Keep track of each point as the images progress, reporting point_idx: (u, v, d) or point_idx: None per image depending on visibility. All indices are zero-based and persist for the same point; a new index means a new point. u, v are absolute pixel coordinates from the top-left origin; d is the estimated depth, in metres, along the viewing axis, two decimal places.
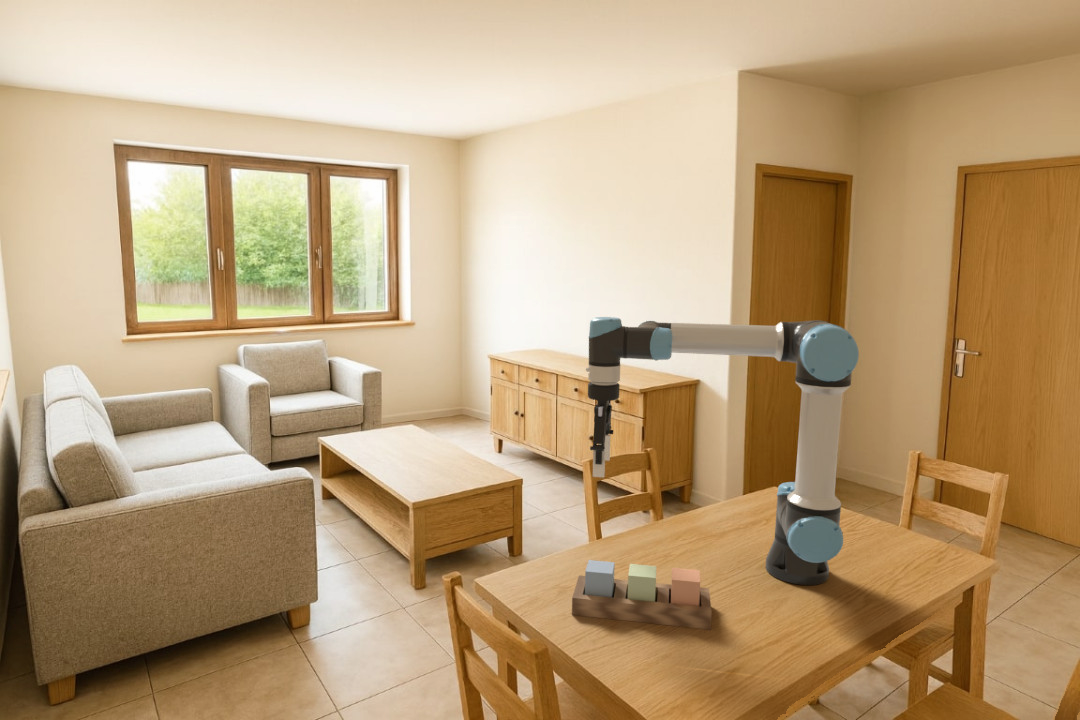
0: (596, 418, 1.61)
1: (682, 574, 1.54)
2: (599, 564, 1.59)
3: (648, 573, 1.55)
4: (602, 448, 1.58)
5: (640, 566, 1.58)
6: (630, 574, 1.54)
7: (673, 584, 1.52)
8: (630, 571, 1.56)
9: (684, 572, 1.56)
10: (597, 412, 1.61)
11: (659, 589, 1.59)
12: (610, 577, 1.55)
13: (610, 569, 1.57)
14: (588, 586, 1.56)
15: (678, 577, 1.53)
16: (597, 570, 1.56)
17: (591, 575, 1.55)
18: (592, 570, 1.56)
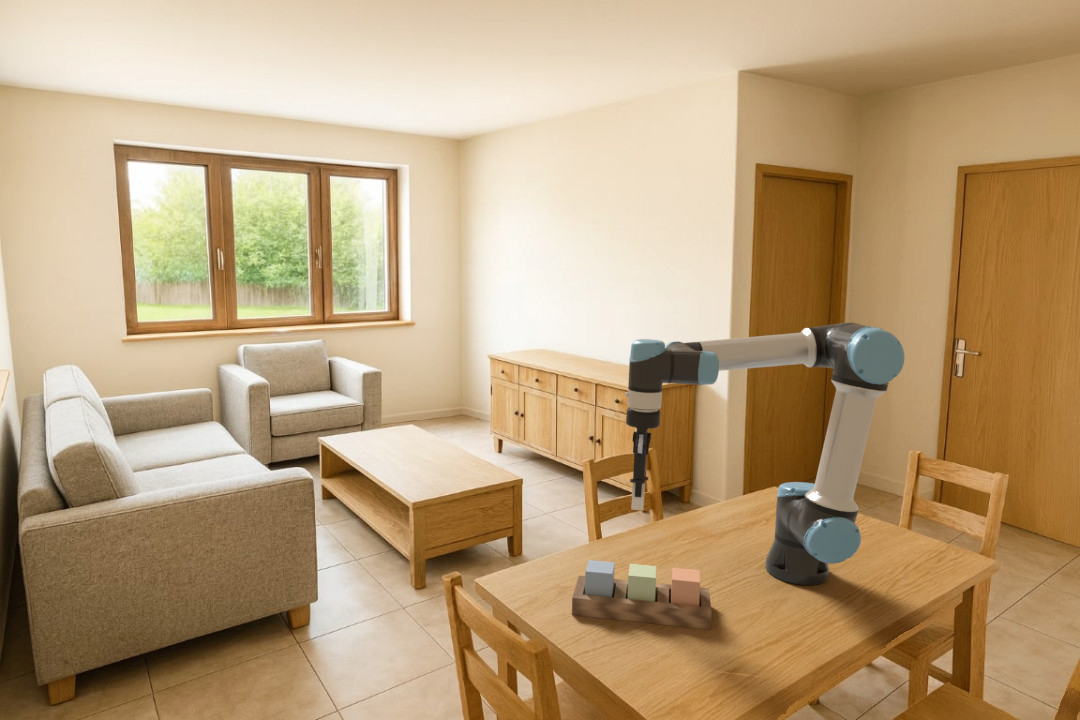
0: (636, 455, 1.53)
1: (682, 574, 1.54)
2: (599, 564, 1.59)
3: (648, 573, 1.55)
4: (643, 482, 1.56)
5: (640, 566, 1.58)
6: (630, 574, 1.54)
7: (673, 584, 1.52)
8: (630, 571, 1.56)
9: (684, 572, 1.56)
10: (636, 451, 1.52)
11: (659, 589, 1.59)
12: (610, 577, 1.55)
13: (610, 569, 1.57)
14: (588, 586, 1.56)
15: (678, 577, 1.53)
16: (597, 570, 1.56)
17: (591, 575, 1.55)
18: (592, 570, 1.56)
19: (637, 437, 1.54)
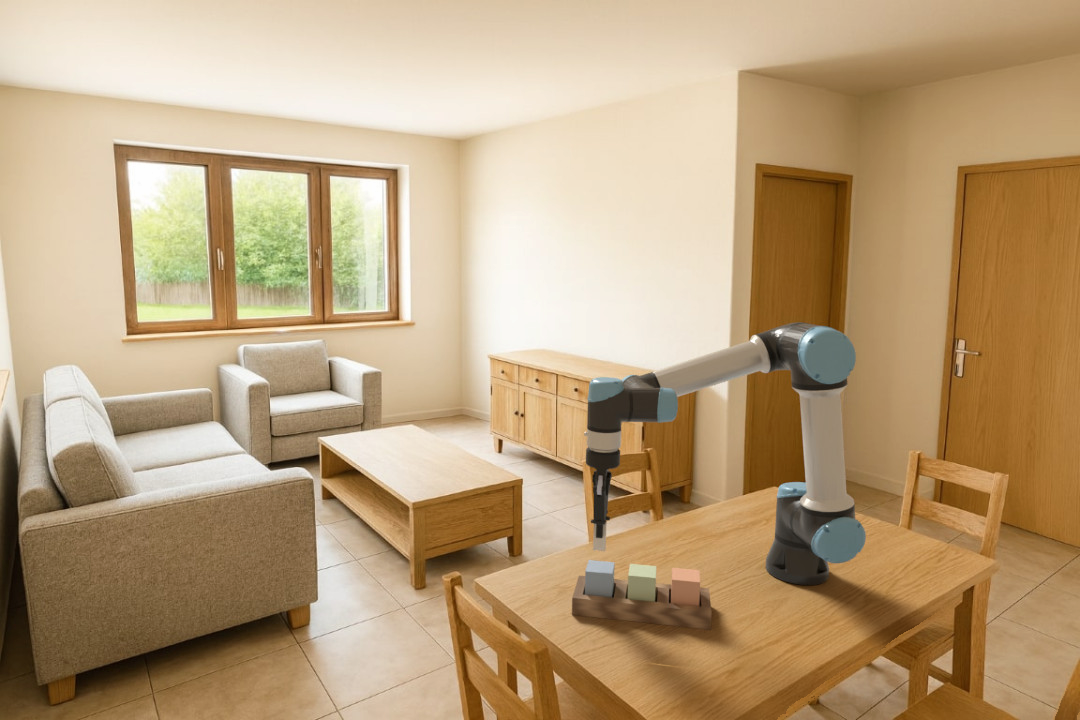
0: (595, 496, 1.50)
1: (682, 574, 1.54)
2: (599, 564, 1.59)
3: (648, 573, 1.55)
4: (603, 523, 1.53)
5: (640, 566, 1.58)
6: (630, 574, 1.54)
7: (673, 584, 1.52)
8: (630, 571, 1.56)
9: (684, 572, 1.56)
10: (596, 492, 1.49)
11: (659, 589, 1.59)
12: (610, 577, 1.55)
13: (610, 569, 1.57)
14: (588, 586, 1.56)
15: (678, 577, 1.53)
16: (597, 570, 1.56)
17: (591, 575, 1.55)
18: (592, 570, 1.56)
19: (596, 478, 1.51)
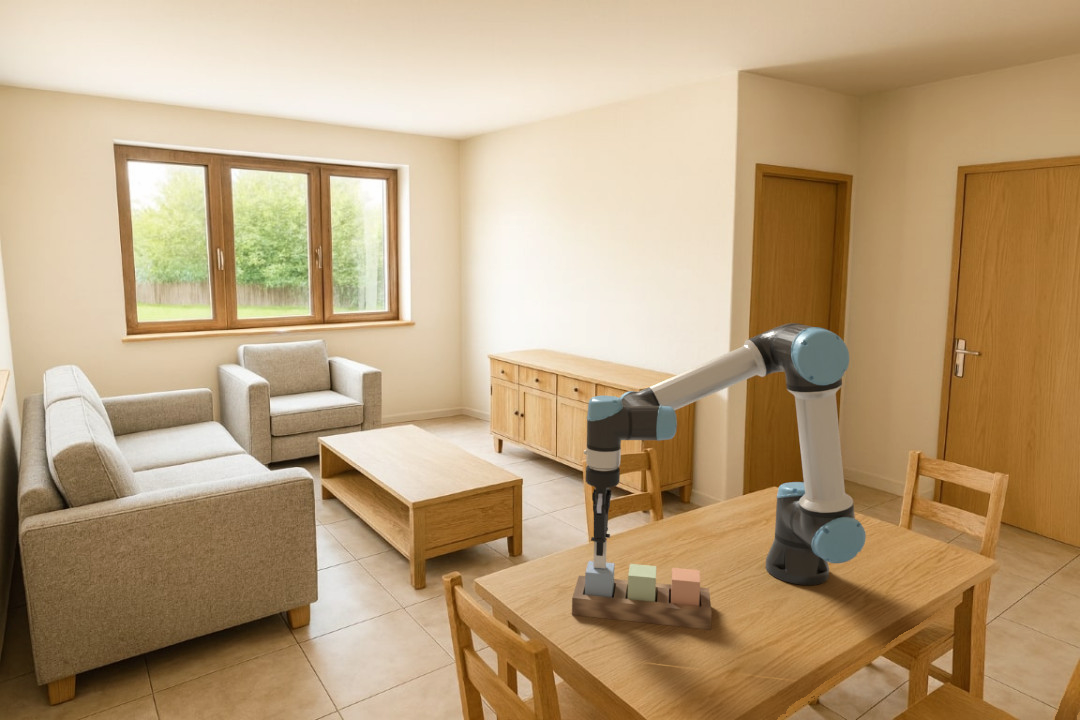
0: (595, 515, 1.51)
1: (682, 574, 1.54)
2: None
3: (648, 573, 1.55)
4: (603, 541, 1.53)
5: (640, 566, 1.58)
6: (630, 574, 1.54)
7: (673, 584, 1.52)
8: (630, 571, 1.56)
9: (684, 572, 1.56)
10: (596, 511, 1.50)
11: (659, 589, 1.59)
12: (610, 578, 1.55)
13: (610, 570, 1.57)
14: (588, 587, 1.56)
15: (678, 577, 1.53)
16: (597, 571, 1.56)
17: (591, 576, 1.55)
18: (592, 571, 1.56)
19: (596, 496, 1.51)
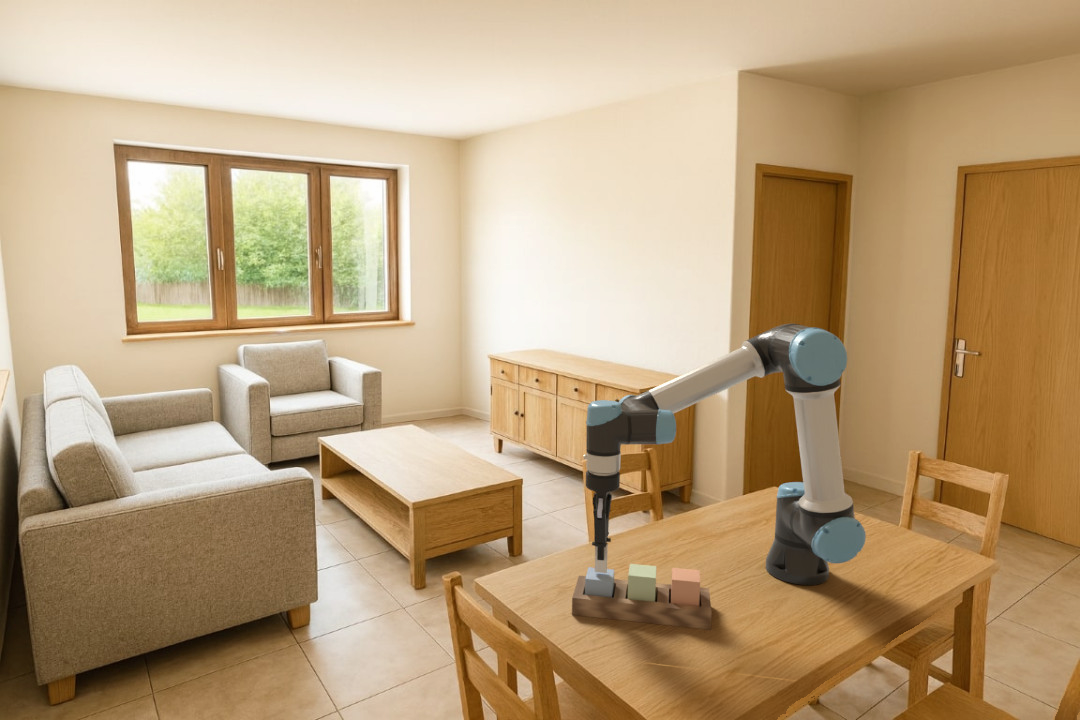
0: (596, 520, 1.51)
1: (682, 574, 1.54)
2: None
3: (648, 573, 1.55)
4: (604, 546, 1.53)
5: (640, 566, 1.58)
6: (630, 574, 1.54)
7: (673, 584, 1.52)
8: (630, 571, 1.56)
9: (684, 572, 1.56)
10: (596, 516, 1.50)
11: (659, 589, 1.59)
12: (610, 585, 1.55)
13: (610, 576, 1.57)
14: (588, 593, 1.56)
15: (678, 577, 1.53)
16: (597, 578, 1.56)
17: (591, 582, 1.56)
18: (592, 577, 1.56)
19: (596, 501, 1.51)
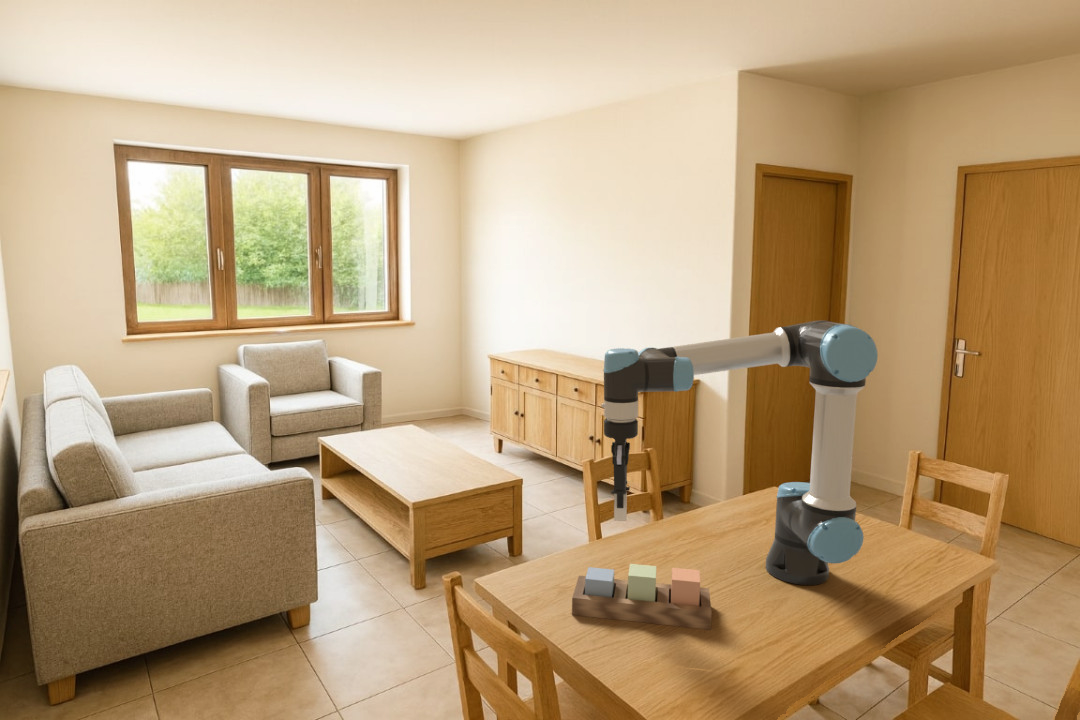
0: (615, 466, 1.51)
1: (682, 574, 1.54)
2: (599, 571, 1.59)
3: (648, 573, 1.55)
4: (624, 493, 1.54)
5: (640, 566, 1.58)
6: (630, 574, 1.54)
7: (673, 584, 1.52)
8: (630, 571, 1.56)
9: (684, 572, 1.56)
10: (616, 462, 1.51)
11: (659, 589, 1.59)
12: (610, 585, 1.55)
13: (610, 576, 1.57)
14: (588, 593, 1.56)
15: (678, 577, 1.53)
16: (597, 578, 1.56)
17: (591, 582, 1.56)
18: (592, 577, 1.56)
19: (615, 448, 1.52)
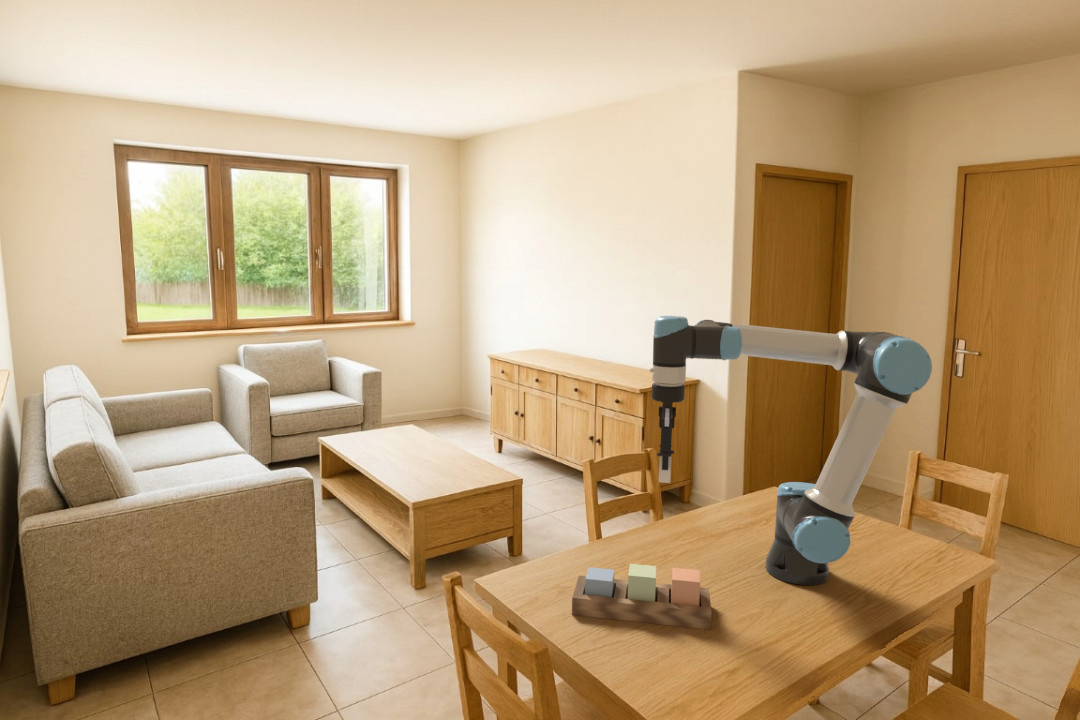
0: (662, 428, 1.57)
1: (682, 574, 1.54)
2: (599, 571, 1.59)
3: (648, 573, 1.55)
4: (670, 455, 1.60)
5: (640, 566, 1.58)
6: (630, 574, 1.54)
7: (673, 584, 1.52)
8: (630, 571, 1.56)
9: (684, 572, 1.56)
10: (663, 424, 1.56)
11: (659, 589, 1.59)
12: (610, 585, 1.55)
13: (610, 576, 1.57)
14: (588, 593, 1.56)
15: (678, 577, 1.53)
16: (597, 578, 1.56)
17: (591, 582, 1.56)
18: (592, 577, 1.56)
19: (663, 411, 1.58)
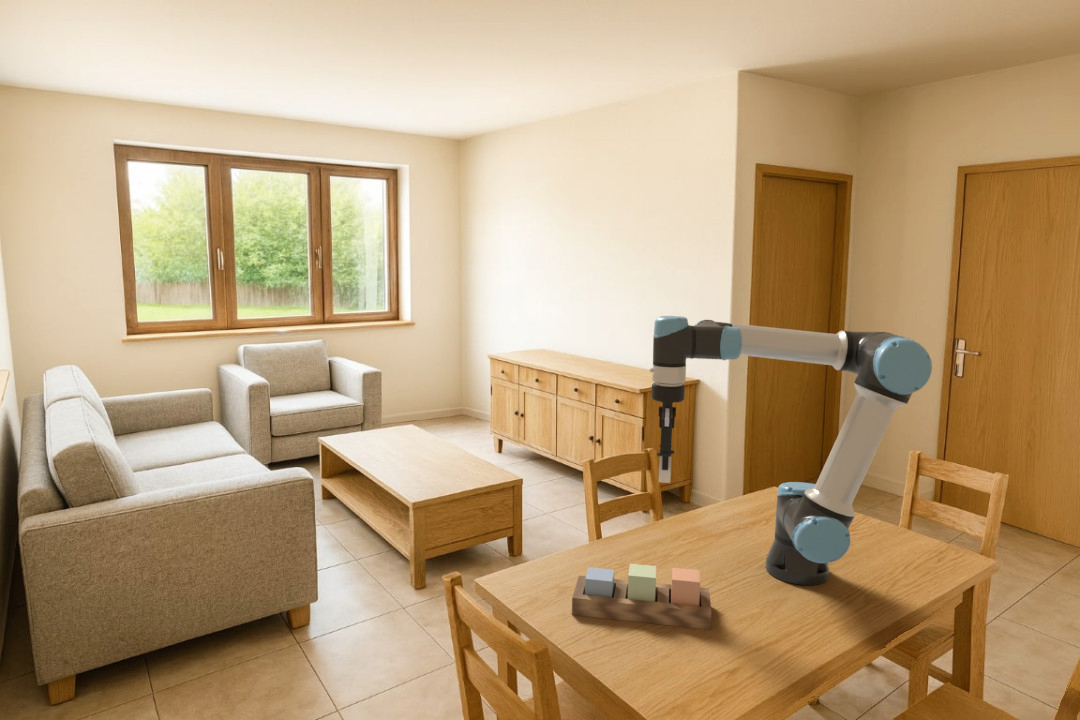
0: (662, 428, 1.57)
1: (682, 574, 1.54)
2: (599, 571, 1.59)
3: (648, 573, 1.55)
4: (670, 455, 1.60)
5: (640, 566, 1.58)
6: (630, 574, 1.54)
7: (673, 584, 1.52)
8: (630, 571, 1.56)
9: (684, 572, 1.56)
10: (663, 424, 1.56)
11: (659, 589, 1.59)
12: (610, 585, 1.55)
13: (610, 576, 1.57)
14: (588, 593, 1.56)
15: (678, 577, 1.53)
16: (597, 578, 1.56)
17: (591, 582, 1.56)
18: (592, 577, 1.56)
19: (663, 411, 1.58)
